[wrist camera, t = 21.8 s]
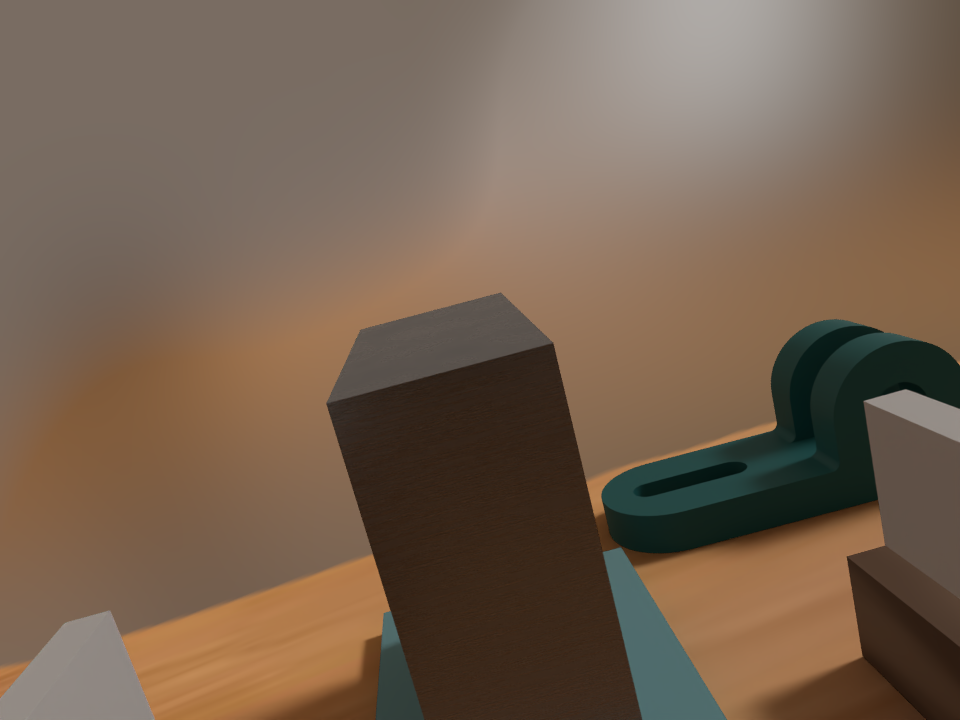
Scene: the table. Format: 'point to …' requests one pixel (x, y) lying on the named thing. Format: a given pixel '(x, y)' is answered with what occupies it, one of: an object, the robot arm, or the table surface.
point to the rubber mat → (649, 646)
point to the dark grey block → (481, 517)
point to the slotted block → (908, 630)
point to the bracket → (783, 445)
